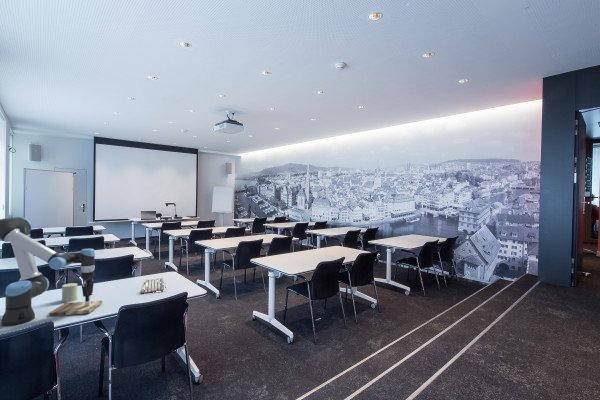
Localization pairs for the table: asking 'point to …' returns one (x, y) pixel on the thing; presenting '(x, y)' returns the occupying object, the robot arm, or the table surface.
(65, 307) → the walnut board
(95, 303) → the oak plank
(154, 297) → the table surface
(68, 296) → the can
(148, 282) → the mechanical keyboard
